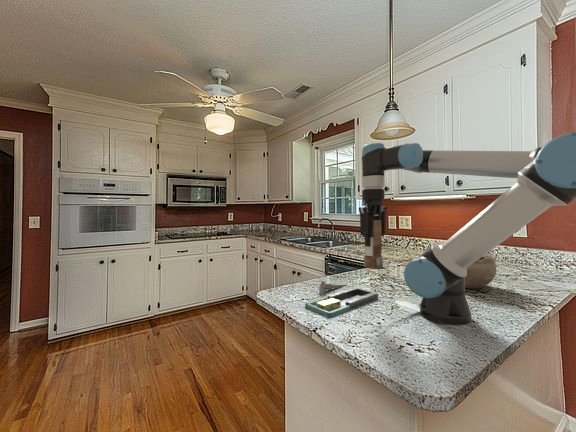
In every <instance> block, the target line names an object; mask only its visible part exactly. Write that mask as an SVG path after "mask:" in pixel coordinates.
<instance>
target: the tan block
mask: <svg viewBox="0 0 576 432" xmlns="http://www.w3.org/2000/svg"><path fill="white" fill-rule="evenodd" d="M315 306H316V307H319V308H321V309H324V310H326V311H329V312H330V311H333V310H332V303H331V302H328V301H325V300H323V301H319V302H316V305H315Z"/></svg>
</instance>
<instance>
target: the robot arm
mask: <svg viewBox="0 0 576 432" xmlns="http://www.w3.org/2000/svg"><path fill="white" fill-rule="evenodd" d="M361 170H362V172H361V173H362V174H361V175H362V177H361V179H362V180H361V181H362V182H361V185H362V187H361V188H362V190H361V199H362V200H363V201H364V204H363V206H359V207H358V212H359V215H360V216H359V224H360V226H359V227H360V231H359V232H360V235H361V236H362V238H364V256H365V255H367V256H373V237H372V229H373V220H381V237H385V234H386V228H387V227H386V226H387V225H386V224H387V223H386V222H387V221H386V220H387V217H386V216H387V210H388V208H387V206H383V203H382V202H383V200H385V189H384V188H385V186H386V185H385V184H386V183H385V171H391V170H392V171H393V170H394V171H395V170H403V171H409V172H413V173H419V174H422V173H427V174H428V173H431V174H447V175H462V176H472V177H473V176H475V177H487V178H488V177H491V178H506V179H517V181H516V182H515V183H514V184H513V185H511V186H510V187H509V188H508V189H507V190H506V191H505V192H503V193H502V194H501V195H500V196H498V197H497V198H496V199H495V200H494V201H492V202H491V203H490V204H489V205H488V206H487V207H485V208H484V209H483V210H482V211H481V212H479V213H478V214H477V215H476V216H474V217H473V218H472V219H471V220H470V221H468V222H467V223H466V224H465V225H464V226H463V227H461V228H460V229H459V230H458V231H456V233H454V234H453V235H452V236H450V237H449V238H448V239H447V240H446V241H444V242H443V243H442V244H437V243H436V244H433V245H431V246H430V247H429V246H428V247H426V248H425V251H424V252H423V253H421V255H419V256H418V257H414V258H413V259H411V260H410V261H409V262H408V263H406V265H405V267H404V270H403V278H404V282H405V284H406V285H407V288H408V289H409V290H410V291H411V292H412V293H414V294H415V295H417V296H418V297H421V298H422V299H421V302H420V304H419V313H420V315H421V316H423V317H424V318H425V319H427V320H430V321H433V322H436V323H440V324H446V325H453V326H454V325H455V326H461V325H462V326H463V325H467V324H470V323H471V322H472V312H471V309H470V307H469V306H470V305H469V303H468V301H467V300H468V299H467V297H466V288H465V277H466V275H467V267H469V266H470V265H472V264H473V263H474V262H476V261H477V260H478V259H480V258H481V257H483V256H484V255H485V254H489V252H491V251H492V250H493V249H495V248H497V246H499V245H500V244H502V243H503V242H505V241H506V240H508V239H509V238H510V237H511V236H513V235H515V233H517V232H518V231H519V230H521V229H522V228H524V227H525V226H526V225H528V224H530V223H531V222H532V221H533V220H535V219H536V218H537V217H539V216H540V215H541V214H544V212H546V211H547V210H549V209H550V208H551V207H555V206H559V207H560V206H567V205H568V204H570V203H572V202H573V201H574V200H575V199H576V131H571V132H566V133H564V134H561V135H559V136H556V137H554V138H553V139H551V140H549V141H548V142H547V143H545V144H544V145H543V146H542V147H540V146H539V147H538V146H537V147H536V148H534V149H533V150H530V151H529V150H527V151H526V150H521V151H520V150H516V151H515V150H431V149H430V150H425V149H423V147H422V146H421V144H419V143H418V142H414V143H413V142H412V143H405V144H399V145H395V146H390V147H389V146H388V147H385V144H384V143H381V142H371V143H366V144H365V145H364V146H362V150H361Z"/></svg>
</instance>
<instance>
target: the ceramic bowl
mask: <svg viewBox="0 0 576 432" xmlns="http://www.w3.org/2000/svg"><path fill="white" fill-rule="evenodd" d="M497 257H498V256H497V255H495V254H494V253H493V254H492V253H491V254H489V253H487V254H485V255H484V256H483V257H481V258H480V259H478V260H477V261H476V262H474V263H473V264H472V265H470V266H469V267H467V275H466V277H465V289H482V288H484V287H487V286H488V285H489V284H490V283H491V282H493V280H494V279H495V276H496V274H497V265H496V260H497Z"/></svg>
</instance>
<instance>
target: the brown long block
mask: <svg viewBox="0 0 576 432" xmlns="http://www.w3.org/2000/svg"><path fill="white" fill-rule="evenodd" d="M372 237H373V256H367V255H365V254H364V255H363V266H364V267H363V268H365V269H369V270H377V271H378V270H382V269H383V268H384V267H383V266H384V265H383V262H384V259H383V256H382V236H381V220H373V229H372Z"/></svg>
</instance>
